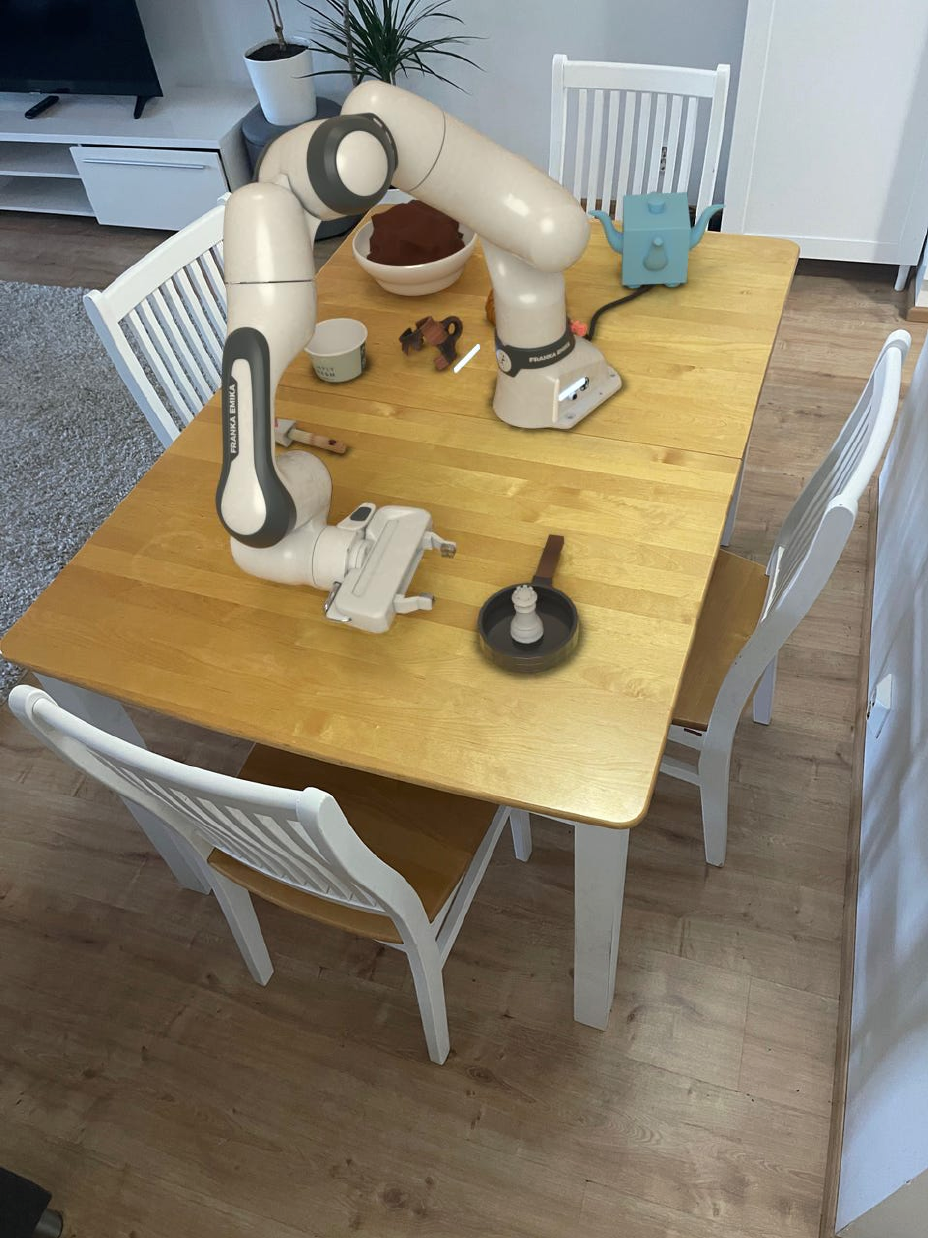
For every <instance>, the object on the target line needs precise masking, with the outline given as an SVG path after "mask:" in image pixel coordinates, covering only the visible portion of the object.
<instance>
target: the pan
mask: <svg viewBox="0 0 928 1238" xmlns="http://www.w3.org/2000/svg"><path fill="white" fill-rule="evenodd" d="M523 585H527V588H529V587H530V586H531V587H532V588H533V591H535V592H536V594H537V600H536V601H535V603H536V607H535V612H536V614H537V615H538V617H539V618H540V619H541V621H542V623H543V628H544V630H543V634H542V636H541V637H540V638H539V639H538V640H536V641H535V642H533V643H529V644H526V643H521V642H518V641H516V640H515V639H514V638H513V637H512V635H511V633H510V630H511V628H510V627H511V622H512V620H513V619H514V617H515V616H516V609H515V607H514V604H515V603H514V602H513V601H512V595H513V593H514V592H515V591H516V590H517V587H519V586H520V587H521V588H523ZM579 619H580V618H579V613H578V609H577V607H576V605H575V603H574V602H573V600H572V599H571V598H570V597H569V596H568V595H567V594H565V592H564V591H562V590H561V589H560V590H559V589H558V588H556V587H554V586H549V585H545V584H541V583H531V582H522V583H515V584H511V585H509V586H505V587H503V588H501V589H499V590H498V591H496V592H494V593H493V594H492V595H491V596H489V598H487V599H486V601H485V602H484V603H483V605H482V606H481V608H480V609H479V612H478V616H477V629H478V637H479V644H480V647H481V649H482V651H483V653H484V655H485V656H486V657H487V658H488V660H489V661H491V662H492V664H494V665H496V666H497V667H499V668H501V669H503V670H505V671H509V672H512V673H516V674H538V673H543V672H546V671H550V670H552V669H554V668H557V667H558V666H560V665H561V664H563V663H564V662H565V661H566V660H567V659H568V658H570V656H572V654H573V653H574V651H575V649H576V648H577V647H576V646H577V644H578V641H579V633H580V632H579V631H580V629H579V628H580V627H579V626H580V625H579Z"/></svg>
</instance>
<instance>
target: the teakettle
mask: <svg viewBox="0 0 928 1238" xmlns="http://www.w3.org/2000/svg"><path fill="white" fill-rule="evenodd" d="M725 207H726V204H722V203H721V204H720V203H718V204H712V205H711V204H710V205H709V206H707V207H706V208H705V209H703V211H702V212H701V213H700V216H699V217H698V219H697V222H696V223H695V224H694V226H691V218H690V217H689V214H690V209H689V200H688V192H686V191H681V192H662V193H661V192H660V193H659V192H658V191H650V192H649V193H642V194H624V195H623V196H622V222H621V231H618V229H616V228H615V226H614V224H613V221H612V219H611V217H610V215H609V214H608V213H607V212H606V211H604V210H601V209H600V210H599V209H595V210H594V209H593V210H589V211H587V214H589V215H591V216H593V217H595V218H596V219H598V220H599V222H600V223H601V225H602V227H603V231H604V234H605V237H606V242H607V243H608V245H609V247H610V248H611V250H613V251H614V252H615V253H617V254H619V255H621V277H622V278H621V285H622V286H626V287H627V288H630V289H638V288H640V287H642V285H649V284H657V285H662V284H663V285H664V286H666V287H668V288H675V287H678V286H680V285H681V284H686V283H687V278H688V267H689V254H690V251H691V250H693V249H694V248H696V247H697V246H698V245H699V244H700V242H701V240H702V239H703V236H704V234H705V231H706V229H707V227H708V224H709V222H710V219H712V218H713V216H714V214H716V213H717V212H718V211H721V210H722V209H724V208H725Z"/></svg>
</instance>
